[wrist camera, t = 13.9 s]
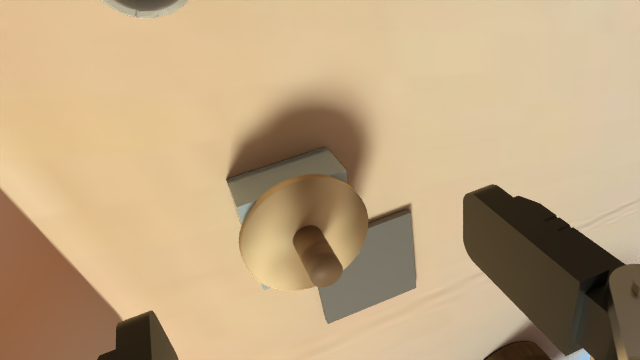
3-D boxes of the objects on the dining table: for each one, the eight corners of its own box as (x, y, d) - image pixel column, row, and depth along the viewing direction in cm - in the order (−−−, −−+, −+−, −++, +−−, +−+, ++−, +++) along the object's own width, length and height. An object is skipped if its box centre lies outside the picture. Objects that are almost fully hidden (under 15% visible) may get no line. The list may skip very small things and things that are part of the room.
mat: (407, 208, 53) (410, 212, 52) (413, 283, 60) (416, 287, 59) (307, 245, 51) (310, 250, 50) (325, 319, 57) (327, 324, 57)
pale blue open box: (326, 146, 46) (345, 169, 41) (340, 225, 51) (359, 253, 47) (226, 179, 44) (236, 207, 39) (252, 258, 49) (264, 290, 45)
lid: (355, 156, 41) (386, 190, 36) (370, 257, 48) (398, 297, 43) (222, 201, 39) (236, 243, 34) (257, 300, 45) (273, 348, 40)
